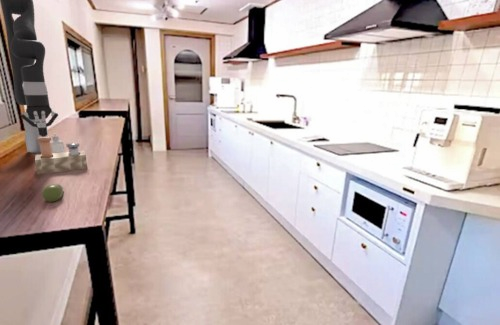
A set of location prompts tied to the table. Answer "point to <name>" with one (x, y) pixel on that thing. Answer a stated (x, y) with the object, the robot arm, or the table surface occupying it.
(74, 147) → the steel plunger
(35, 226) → the table surface
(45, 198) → the green rounded lump
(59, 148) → the eye dropper bottle
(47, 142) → the terracotta plunger
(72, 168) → the beige rectangular block
